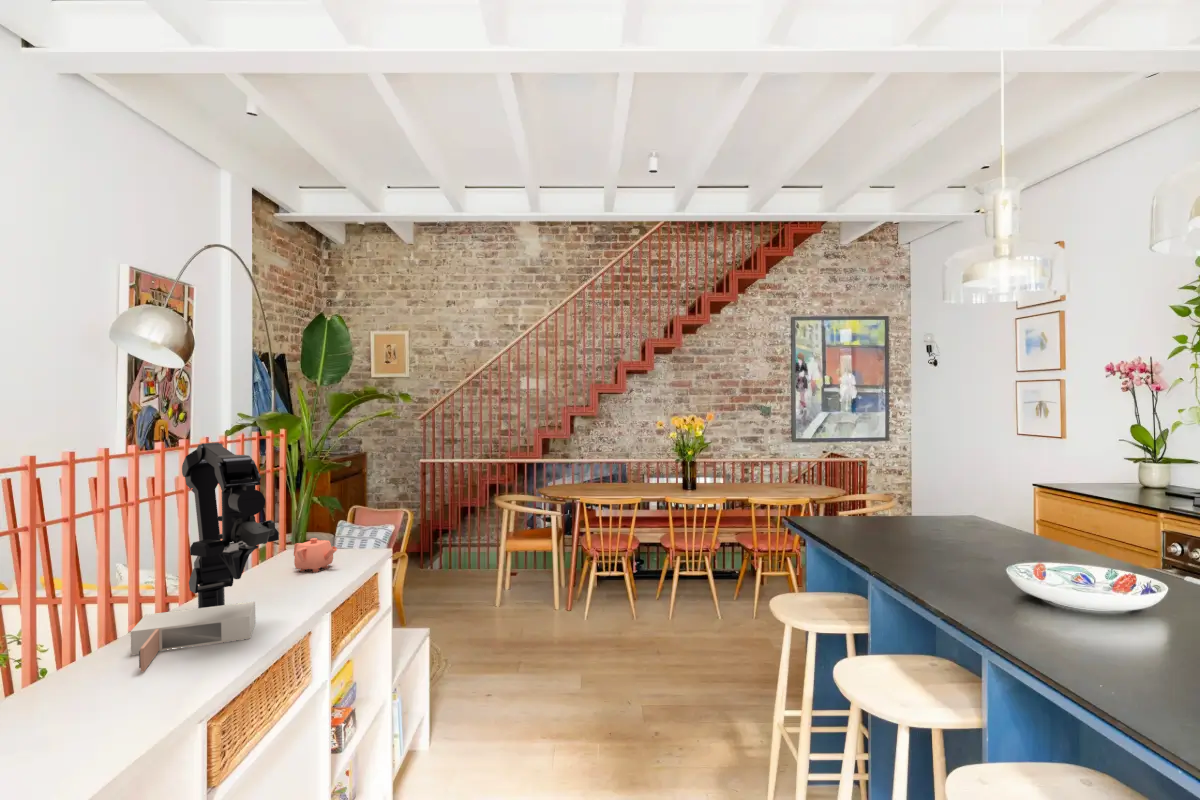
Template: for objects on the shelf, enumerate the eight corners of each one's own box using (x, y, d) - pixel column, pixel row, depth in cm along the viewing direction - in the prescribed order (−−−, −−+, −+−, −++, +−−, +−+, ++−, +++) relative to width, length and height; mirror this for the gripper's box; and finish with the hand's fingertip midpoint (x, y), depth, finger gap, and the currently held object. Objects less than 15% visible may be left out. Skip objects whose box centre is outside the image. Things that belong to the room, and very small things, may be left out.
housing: (146, 636, 148) (145, 614, 148) (255, 622, 157) (255, 601, 157) (131, 655, 137) (130, 631, 137) (249, 638, 145) (249, 616, 145)
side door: (159, 650, 139) (158, 628, 139) (144, 671, 128) (143, 648, 128) (154, 650, 139) (153, 629, 139) (138, 672, 127) (138, 648, 127)
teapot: (337, 570, 205) (337, 539, 205) (295, 576, 199) (295, 544, 199) (333, 562, 215) (332, 533, 215) (293, 567, 209) (292, 537, 209)
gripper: (223, 519, 139) (224, 593, 139) (295, 506, 156) (296, 571, 156) (187, 517, 143) (189, 588, 143) (261, 504, 161) (262, 568, 160)
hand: (237, 578), depth 151 cm, fingers closed
